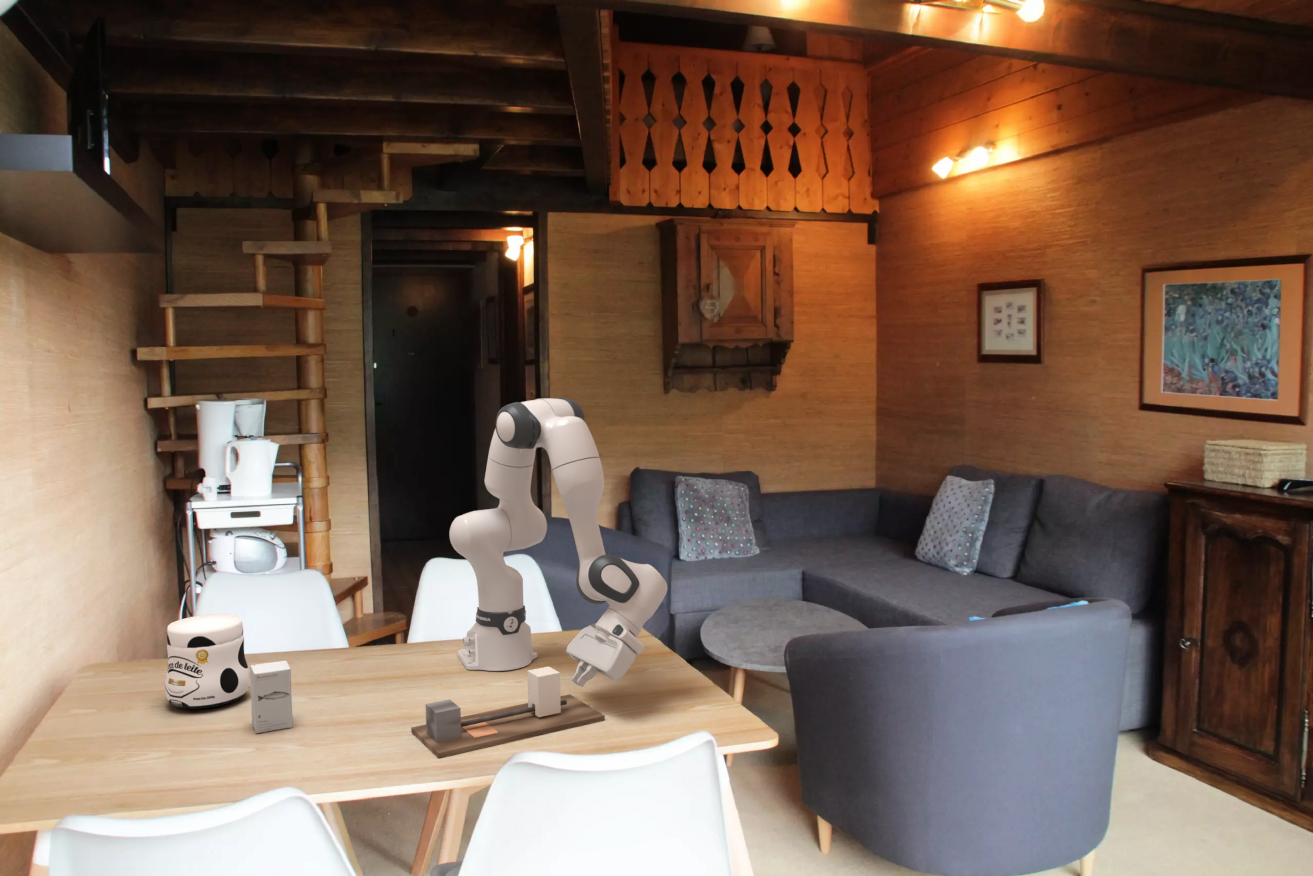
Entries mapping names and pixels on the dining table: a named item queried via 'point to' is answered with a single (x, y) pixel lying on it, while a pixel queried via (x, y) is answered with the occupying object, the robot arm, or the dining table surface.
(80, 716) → the dining table surface
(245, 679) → the milk container
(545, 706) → the cream sliding block
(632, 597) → the robot arm
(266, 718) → the supplement box
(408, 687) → the dining table surface
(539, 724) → the wooden slider track base
